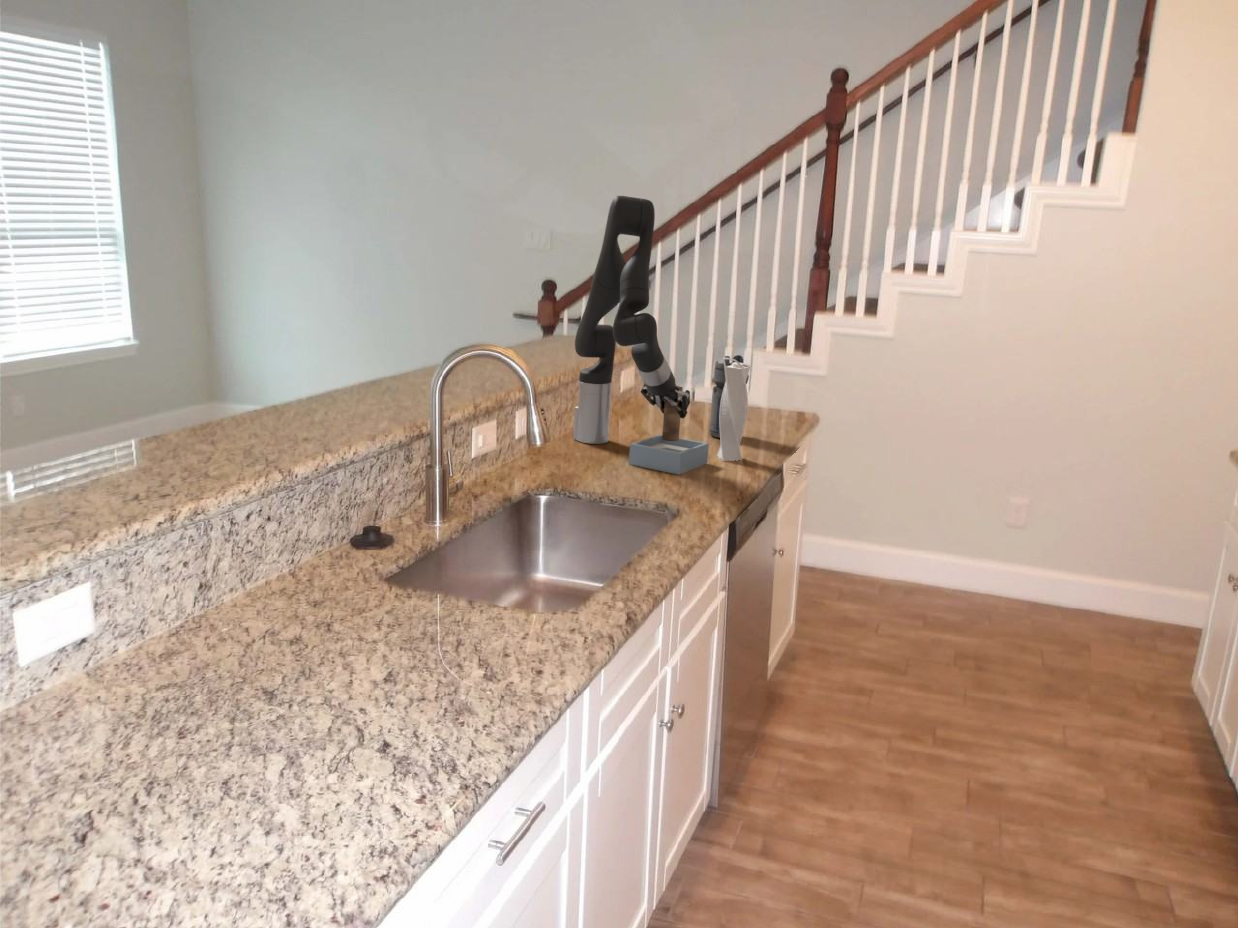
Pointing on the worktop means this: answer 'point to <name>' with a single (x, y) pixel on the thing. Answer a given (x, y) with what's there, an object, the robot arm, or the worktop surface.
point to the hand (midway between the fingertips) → (675, 414)
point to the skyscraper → (733, 410)
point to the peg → (671, 422)
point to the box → (668, 454)
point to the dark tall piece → (719, 393)
